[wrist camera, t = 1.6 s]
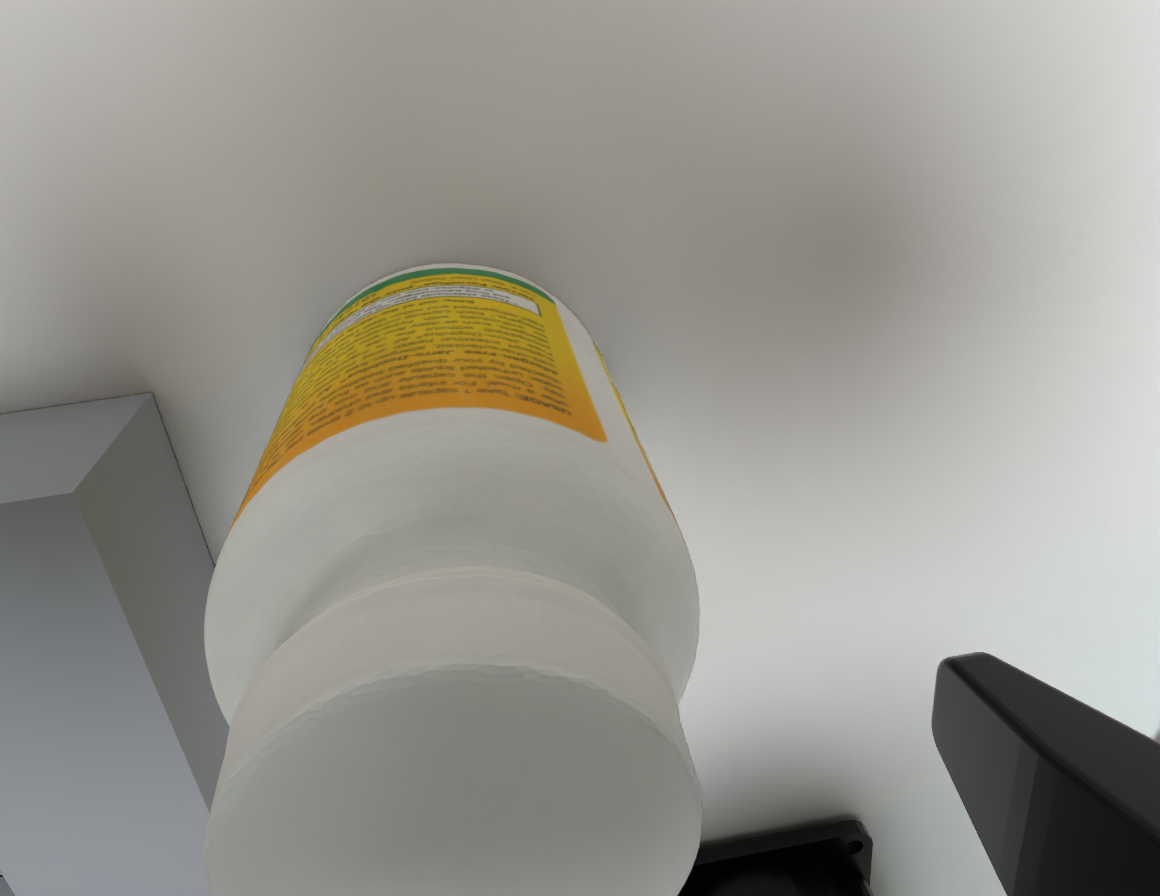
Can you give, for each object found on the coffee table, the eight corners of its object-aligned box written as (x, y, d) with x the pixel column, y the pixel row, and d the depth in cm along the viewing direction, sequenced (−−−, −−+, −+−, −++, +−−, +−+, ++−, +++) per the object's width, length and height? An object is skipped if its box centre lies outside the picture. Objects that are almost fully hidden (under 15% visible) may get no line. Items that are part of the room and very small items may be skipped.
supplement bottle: (662, 404, 16) (909, 837, 7) (455, 578, 17) (466, 1131, 9) (456, 183, 14) (476, 441, 5) (233, 399, 15) (-54, 906, 6)
